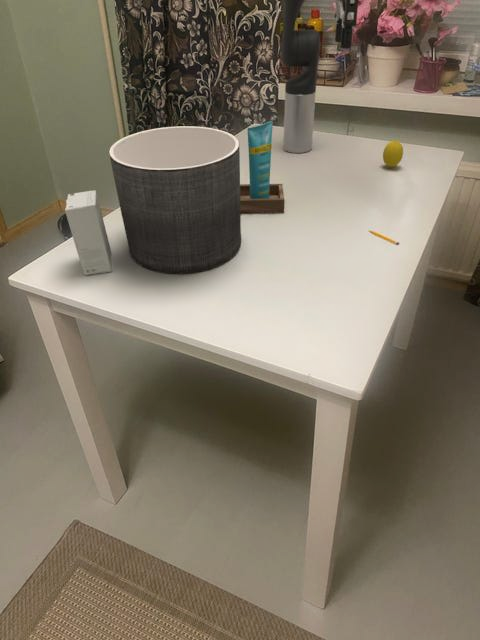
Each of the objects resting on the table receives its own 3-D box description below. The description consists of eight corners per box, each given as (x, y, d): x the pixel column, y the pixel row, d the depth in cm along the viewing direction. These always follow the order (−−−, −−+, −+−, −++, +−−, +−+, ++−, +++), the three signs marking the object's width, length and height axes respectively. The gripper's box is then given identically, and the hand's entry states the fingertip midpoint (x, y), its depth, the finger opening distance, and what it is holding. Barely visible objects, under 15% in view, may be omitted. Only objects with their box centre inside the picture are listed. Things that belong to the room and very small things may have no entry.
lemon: (402, 166, 140) (408, 138, 135) (396, 172, 136) (401, 144, 131) (384, 163, 142) (389, 135, 137) (378, 169, 138) (382, 141, 133)
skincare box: (112, 272, 98) (97, 205, 89) (82, 276, 97) (63, 209, 88) (111, 252, 104) (97, 188, 95) (83, 256, 103) (66, 191, 94)
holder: (236, 197, 125) (236, 184, 123) (281, 196, 125) (282, 183, 123) (235, 213, 118) (235, 200, 116) (283, 213, 117) (284, 199, 115)
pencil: (396, 246, 104) (397, 243, 103) (366, 232, 109) (366, 229, 109) (399, 245, 104) (399, 242, 104) (368, 231, 110) (368, 228, 109)
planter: (106, 262, 101) (81, 160, 87) (163, 212, 119) (150, 121, 106) (214, 285, 93) (206, 177, 80) (257, 228, 112) (257, 132, 98)
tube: (256, 209, 118) (255, 129, 106) (242, 203, 120) (240, 125, 108) (276, 200, 122) (278, 122, 110) (263, 194, 124) (263, 118, 112)
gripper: (328, -45, 103) (322, 40, 113) (337, -44, 92) (330, 51, 102) (363, -46, 103) (353, 39, 113) (376, -45, 92) (364, 50, 102)
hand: (342, 45), depth 107 cm, fingers open, 8 cm apart
